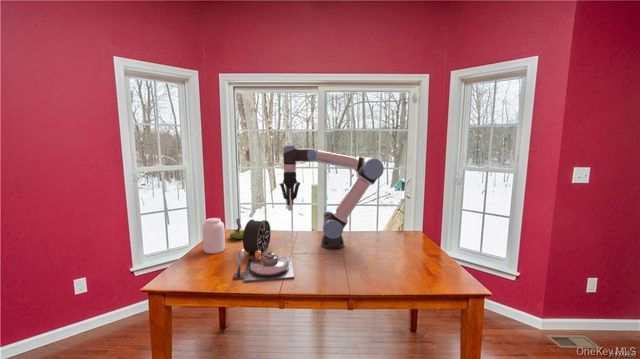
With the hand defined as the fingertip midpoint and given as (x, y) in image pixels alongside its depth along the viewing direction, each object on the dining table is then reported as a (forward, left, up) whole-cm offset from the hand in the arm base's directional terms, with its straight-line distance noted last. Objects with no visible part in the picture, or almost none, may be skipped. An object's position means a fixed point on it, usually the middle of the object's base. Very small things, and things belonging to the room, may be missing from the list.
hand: (290, 210), depth 162 cm
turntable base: (+12, +22, -26) cm, 36 cm away
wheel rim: (+20, -3, -27) cm, 33 cm away
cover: (+12, +22, -23) cm, 34 cm away
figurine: (+35, -30, -27) cm, 53 cm away
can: (+47, -10, -27) cm, 55 cm away
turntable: (+12, +22, -25) cm, 35 cm away
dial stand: (+27, +28, -26) cm, 47 cm away
